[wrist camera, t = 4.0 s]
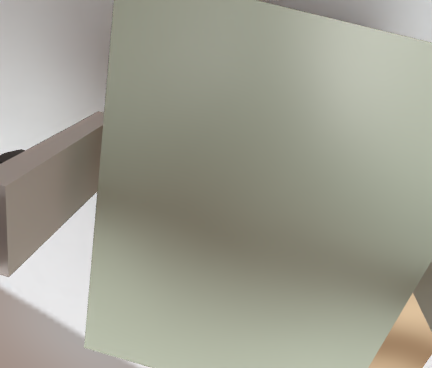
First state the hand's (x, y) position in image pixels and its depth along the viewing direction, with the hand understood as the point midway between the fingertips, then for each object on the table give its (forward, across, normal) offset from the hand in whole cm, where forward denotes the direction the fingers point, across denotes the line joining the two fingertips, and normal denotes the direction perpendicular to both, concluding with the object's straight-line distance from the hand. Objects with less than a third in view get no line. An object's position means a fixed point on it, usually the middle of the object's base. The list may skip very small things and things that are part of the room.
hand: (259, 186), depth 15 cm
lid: (-1, 0, 0) cm, 1 cm away
